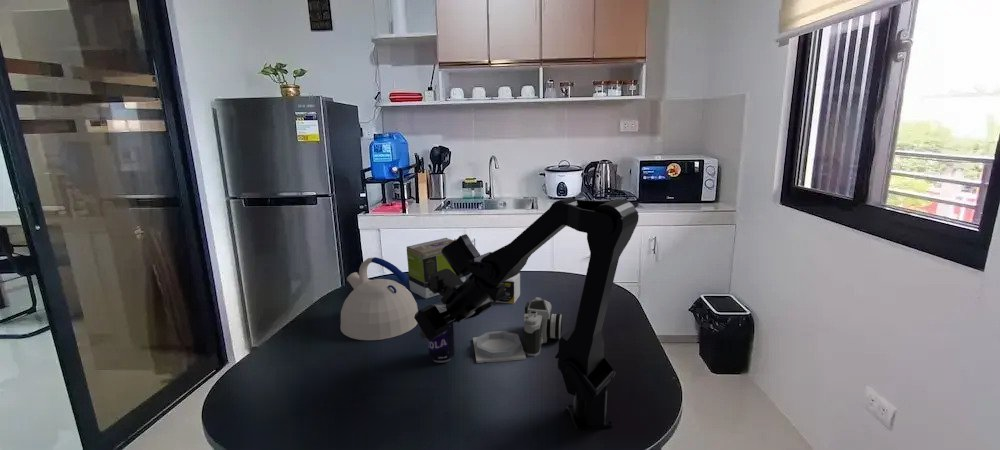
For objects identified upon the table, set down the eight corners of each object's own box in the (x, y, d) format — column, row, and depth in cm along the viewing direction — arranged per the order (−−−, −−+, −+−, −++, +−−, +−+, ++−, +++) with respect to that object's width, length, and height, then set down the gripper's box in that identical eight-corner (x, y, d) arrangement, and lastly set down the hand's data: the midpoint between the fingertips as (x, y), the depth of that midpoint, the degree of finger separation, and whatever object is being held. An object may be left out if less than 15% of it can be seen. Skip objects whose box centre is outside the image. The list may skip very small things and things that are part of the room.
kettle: (379, 302, 135) (375, 243, 131) (435, 316, 125) (432, 253, 120) (322, 329, 118) (314, 262, 114) (381, 349, 108) (375, 276, 103)
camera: (558, 359, 102) (558, 317, 99) (519, 356, 103) (519, 314, 101) (563, 327, 117) (563, 290, 115) (529, 325, 119) (529, 288, 116)
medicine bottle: (490, 301, 134) (489, 262, 131) (497, 292, 140) (497, 255, 138) (514, 304, 132) (513, 264, 129) (520, 295, 138) (520, 257, 136)
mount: (526, 359, 102) (526, 351, 101) (476, 363, 100) (476, 355, 100) (517, 336, 112) (517, 328, 112) (472, 339, 111) (472, 332, 111)
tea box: (449, 279, 153) (447, 236, 149) (466, 287, 145) (465, 242, 142) (408, 290, 143) (405, 245, 140) (425, 300, 136) (422, 252, 132)
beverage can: (426, 355, 104) (423, 305, 102) (449, 349, 107) (447, 301, 104) (433, 366, 99) (430, 315, 96) (458, 360, 102) (456, 310, 99)
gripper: (479, 250, 102) (445, 286, 111) (418, 273, 88) (384, 312, 97) (508, 290, 100) (471, 324, 109) (450, 321, 85) (412, 357, 94)
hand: (436, 328), depth 102 cm, fingers open, 9 cm apart
